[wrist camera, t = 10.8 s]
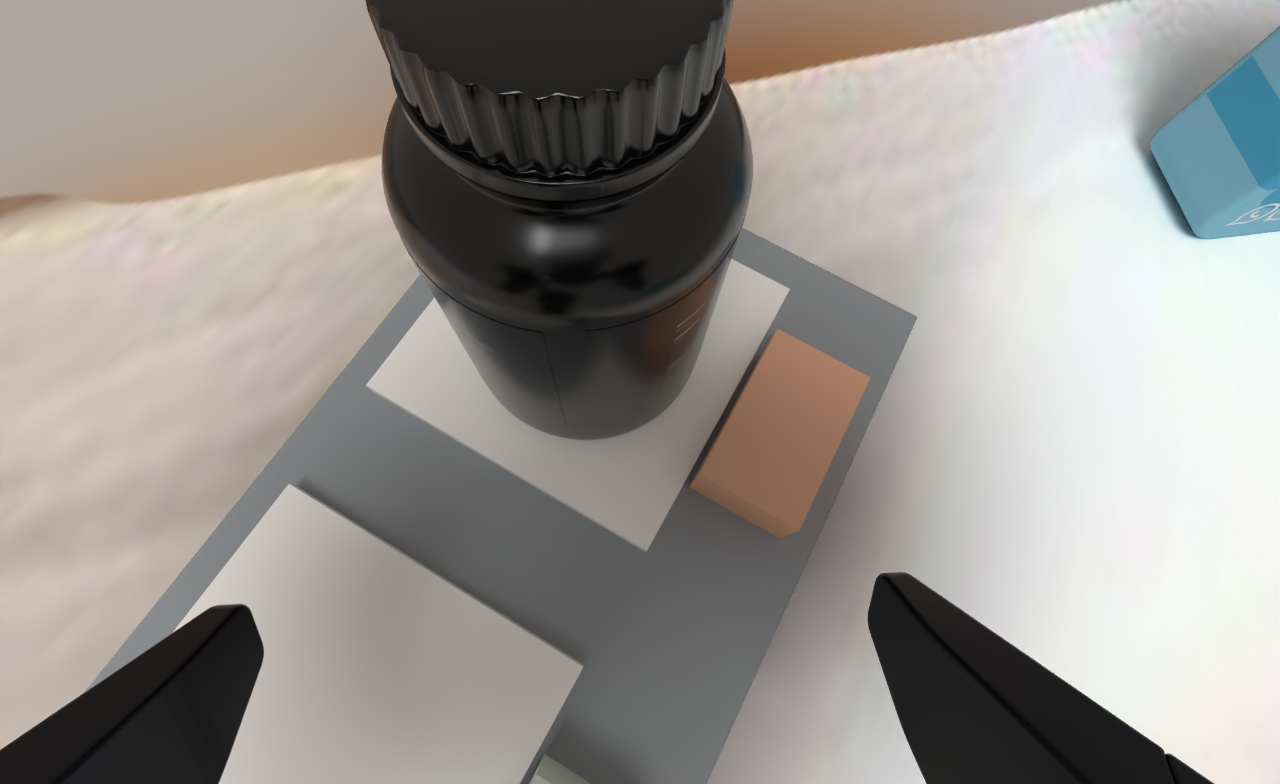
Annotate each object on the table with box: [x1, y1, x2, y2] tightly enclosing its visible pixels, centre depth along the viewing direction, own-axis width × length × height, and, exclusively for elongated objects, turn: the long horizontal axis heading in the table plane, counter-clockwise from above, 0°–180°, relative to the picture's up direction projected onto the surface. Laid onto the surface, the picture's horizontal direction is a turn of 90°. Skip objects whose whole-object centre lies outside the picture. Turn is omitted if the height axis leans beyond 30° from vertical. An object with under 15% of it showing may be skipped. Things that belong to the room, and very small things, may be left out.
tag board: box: [85, 228, 917, 784], centre depth 17 cm, size 15×26×4 cm, turn 150°
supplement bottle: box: [366, 0, 753, 440], centre depth 13 cm, size 7×7×12 cm
